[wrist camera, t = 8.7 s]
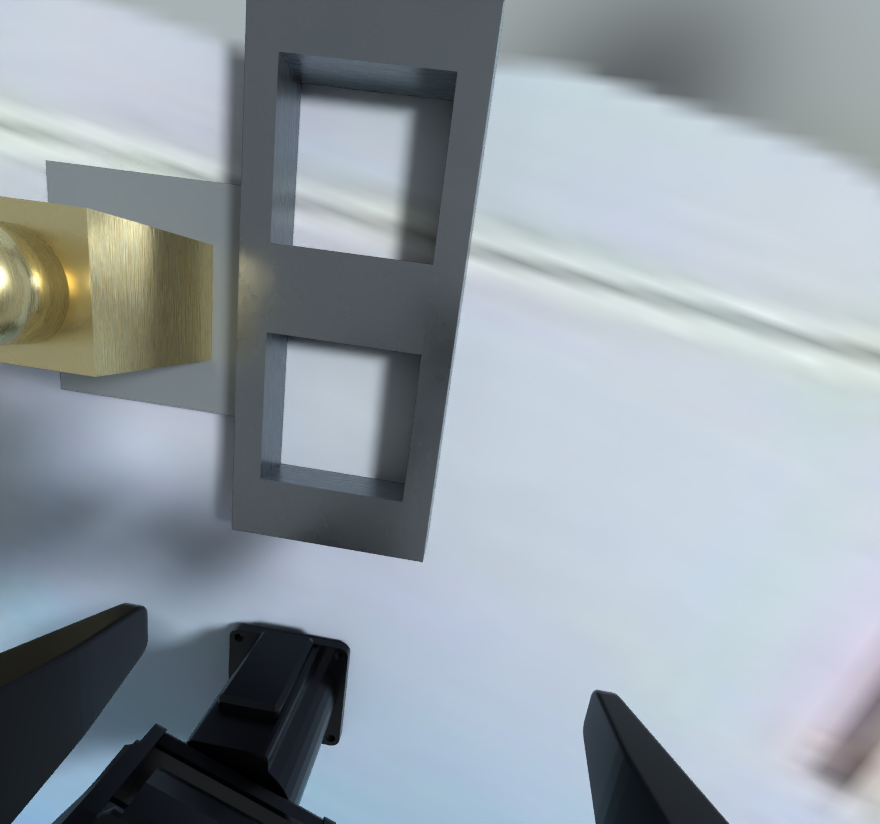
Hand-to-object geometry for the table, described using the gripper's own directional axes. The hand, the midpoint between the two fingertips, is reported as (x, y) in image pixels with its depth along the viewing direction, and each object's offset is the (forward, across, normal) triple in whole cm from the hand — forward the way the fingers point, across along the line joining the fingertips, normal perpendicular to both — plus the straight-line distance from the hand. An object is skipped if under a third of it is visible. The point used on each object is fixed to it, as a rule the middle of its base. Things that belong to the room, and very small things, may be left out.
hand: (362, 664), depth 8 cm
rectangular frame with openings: (+12, +4, -7) cm, 14 cm away
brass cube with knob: (+11, +13, -6) cm, 18 cm away
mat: (+12, +13, -6) cm, 19 cm away
